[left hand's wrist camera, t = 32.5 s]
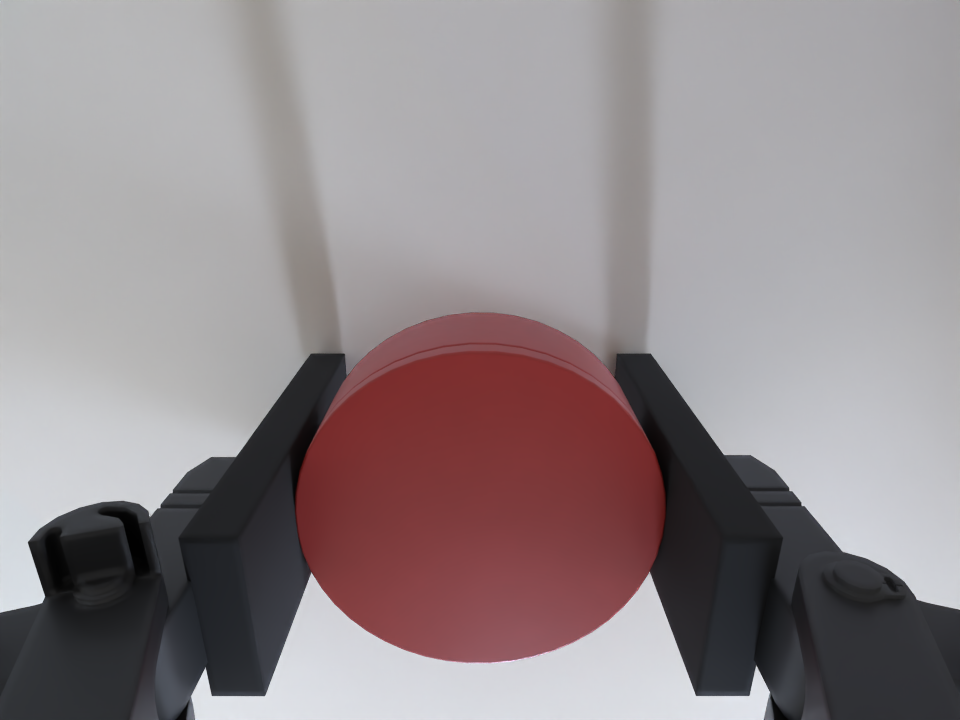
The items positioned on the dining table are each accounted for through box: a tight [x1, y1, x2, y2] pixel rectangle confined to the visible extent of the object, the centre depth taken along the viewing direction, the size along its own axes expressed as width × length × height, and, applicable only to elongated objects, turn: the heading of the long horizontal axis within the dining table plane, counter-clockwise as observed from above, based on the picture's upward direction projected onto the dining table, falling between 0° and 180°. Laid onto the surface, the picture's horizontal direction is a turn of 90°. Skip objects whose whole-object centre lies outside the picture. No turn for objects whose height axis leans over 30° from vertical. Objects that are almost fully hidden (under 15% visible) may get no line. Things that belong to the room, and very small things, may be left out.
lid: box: [295, 313, 666, 663], centre depth 11 cm, size 6×6×2 cm
